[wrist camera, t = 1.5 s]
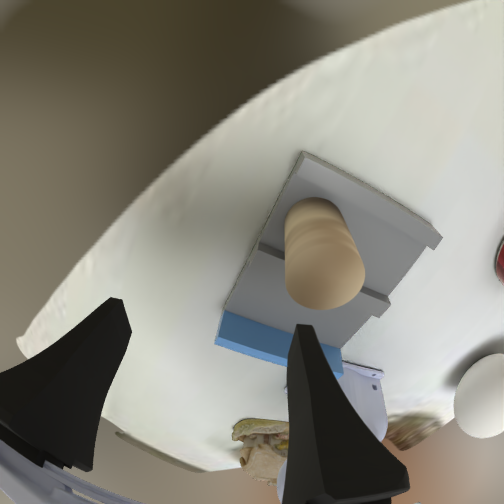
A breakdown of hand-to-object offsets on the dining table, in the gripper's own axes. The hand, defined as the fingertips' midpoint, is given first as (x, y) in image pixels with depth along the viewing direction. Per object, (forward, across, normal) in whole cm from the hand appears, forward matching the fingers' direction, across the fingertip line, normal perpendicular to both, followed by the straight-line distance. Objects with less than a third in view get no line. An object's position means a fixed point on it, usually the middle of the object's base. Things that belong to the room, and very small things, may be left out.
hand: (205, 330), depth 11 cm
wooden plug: (+9, -5, 0) cm, 11 cm away
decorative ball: (+10, -35, +17) cm, 40 cm away
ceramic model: (+10, -8, +37) cm, 39 cm away
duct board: (+10, -7, +4) cm, 13 cm away
